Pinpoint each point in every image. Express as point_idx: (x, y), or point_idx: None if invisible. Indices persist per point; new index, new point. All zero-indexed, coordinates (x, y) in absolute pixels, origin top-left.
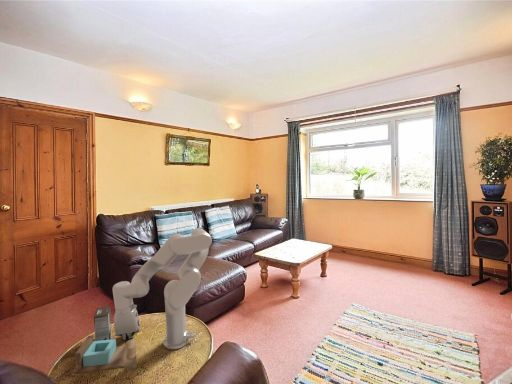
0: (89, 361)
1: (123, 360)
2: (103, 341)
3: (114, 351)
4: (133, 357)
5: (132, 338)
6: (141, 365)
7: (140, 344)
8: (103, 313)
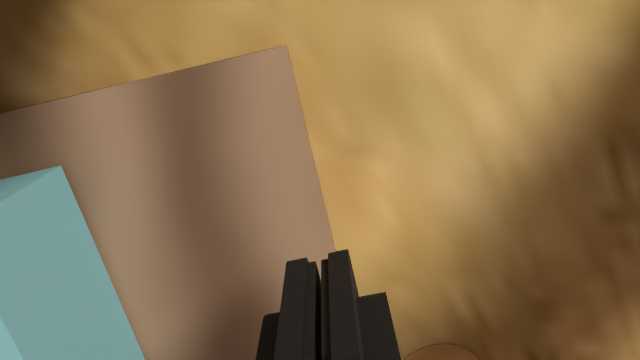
0: None
1: None
2: None
3: (84, 230)
4: None
5: (396, 345)
6: (525, 347)
7: (353, 7)
8: None
